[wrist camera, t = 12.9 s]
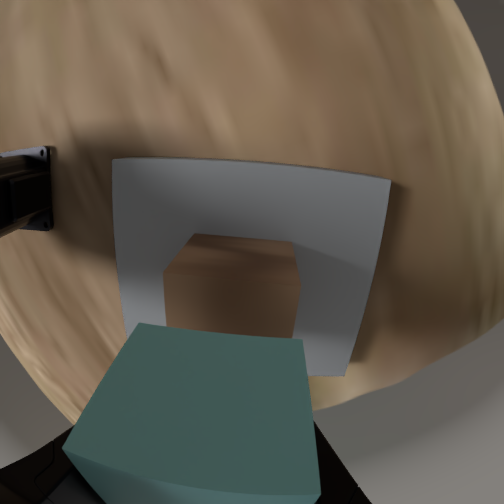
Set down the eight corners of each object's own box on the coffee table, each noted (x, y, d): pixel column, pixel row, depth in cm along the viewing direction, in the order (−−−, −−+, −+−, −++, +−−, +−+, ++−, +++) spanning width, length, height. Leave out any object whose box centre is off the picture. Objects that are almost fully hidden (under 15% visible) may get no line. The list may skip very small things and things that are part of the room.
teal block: (158, 420, 10) (123, 521, 6) (138, 322, 9) (62, 448, 4) (281, 434, 10) (281, 545, 6) (302, 339, 9) (321, 494, 4)
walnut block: (194, 316, 19) (171, 373, 14) (194, 233, 17) (162, 272, 12) (280, 324, 19) (282, 385, 13) (291, 241, 17) (301, 285, 12)
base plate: (139, 339, 22) (130, 354, 20) (126, 157, 17) (111, 159, 16) (339, 359, 22) (344, 376, 20) (379, 176, 17) (391, 180, 15)
